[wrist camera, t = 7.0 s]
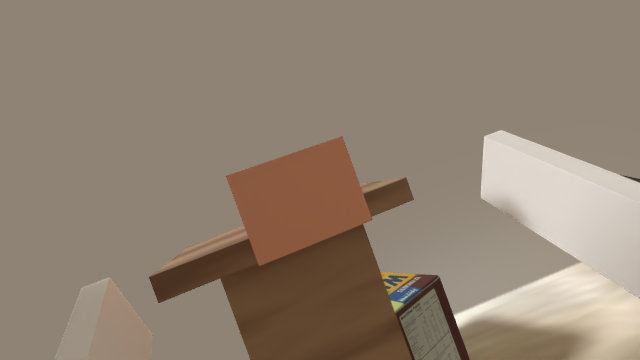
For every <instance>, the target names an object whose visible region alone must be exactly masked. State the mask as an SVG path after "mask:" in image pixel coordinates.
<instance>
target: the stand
mask: <svg viewBox="0 0 640 360" xmlns="http://www.w3.org/2000/svg"><path fill="white" fill-rule="evenodd" d="M360 187H361V189H362V192H363V195H364V198H365V200H366V203H367V206H368V209H369V212H370V214H371V217H372V216H375V215H377V214H380V213H382V212H385V211H387V210H390V209H392V208H395V207H397V206H400V205H402V204H404V203H407V202H409V201H412V200H414V198H413V196H412V193H411V190H410V187H409V184H408V182H407V179H406V178H399V179H392V180H385V181H378V182H371V183H365V184H360ZM219 278H221V281H222V284H223V287H224V290H225V292H226V295H227V298H228V300H229V303H230V306H231V308H232V311H233V314H234V317H235V319H236V322H237V324H238V327H239V330H240V333H241V335H242V338H243V341H244V344H245V346H246V349H247V351H248V354H249V357H250V360H412V358H411V355H410V353H409V350H408V347H407V344H406V342H405V339H404V336H403V333H402V331H401V328H400V325H399V322H398V320H397V317H396V314H395V311H394V308H393V306H392V303H391V300H390V297H389V295H388V292H387V289H386V286H385V284H384V281H383V278H382V275H381V273H380V270H379V267H378V265H377V261H376V259H375V256H374V254H373V250H372V248H371V246H370V242H369V240H368V237H367V234H366V231H365V228H364V226H363V224H362V225H359V226H357V227H354V228H352V229H349V230H347V231H344V232H342V233H340V234H337V235H335V236H332V237H330V238H327V239H325V240H322V241H320V242H317V243H315V244H313V245H310V246H308V247H305V248H303V249H300V250H298V251H295V252H293V253H291V254H288V255H286V256H283V257H281V258H278V259H276V260H273V261H271V262H268V263H266V264H264V265H261V266H259V265H258V262H257V259H256V256H255V254H254V251H253V248H252V245H251V243H250V240H249V237H248V235H247V232H246V229H245V226H242V227H240V228H237V229H235V230H232V231H229V232H227V233H224V234H221V235H219V236H216V237H214V238H211V239H208V240H205V241H203V242H200V243H197V244H195V245H192V246H190V247H188V248H187V249H186V250H184V251H183V252H182V253H180V254H179V255H178V256H176V257H175V258H174V259H172V260H171V261H170V262H168V263H167V264H166V265H165V266H163V267H162V268H160V269H159V270H158V271H156V272H155V273H154V274H153V275H151V276H150V277H149V279H150V281H151V284H152V287H153V289H154V292H155V295H156V297H157V300H158V303H160V302H163V301H165V300H167V299H170V298H173V297H175V296H177V295H180V294H182V293H185V292H187V291H190V290H192V289H195V288H197V287H200V286H202V285H204V284H207V283H210V282H212V281H215V280H217V279H219Z"/></svg>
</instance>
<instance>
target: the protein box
mask: <svg viewBox="0 0 640 360" xmlns="http://www.w3.org/2000/svg"><path fill="white" fill-rule="evenodd" d="M380 273H381V275H382V278H383V281H384V284H385V286H386V289H387V292H388V295H389V297H390V300H391V303H392V306H393V308H394V311H395V314H396V317H397V320H398V322H399V325H400V328H401V331H402V333H403V336H404V339H405V342H406V344H407V347H408V350H409V353H410V355H411V358H412V360H470V359H469V356H468V354H467V351H466V348H465V345H464V343H463V340H462V337H461V335H460V332H459V329H458V326H457V324H456V321H455V318H454V315H453V313H452V310H451V308H450V305H449V302H448V299H447V296H446V294H445V291H444V288H443V285H442V283H441V280H440V277H439V276H437V275H418V274H403V273H387V272H386V273H385V272H380Z"/></svg>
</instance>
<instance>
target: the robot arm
mask: <svg viewBox="0 0 640 360" xmlns="http://www.w3.org/2000/svg"><path fill="white" fill-rule="evenodd" d="M481 198H482V199H484V200H485V201H487V202H489V203H490V204H492V205H493V206H495V207H496V208H498V209H500V210H501V211H503V212H504V213H506V214H507V215H509V216H510V217H512V218H514V219H515V220H517V221H519V222H520V223H522V224H523V225H525V226H526V227H528V228H530V229H531V230H533V231H534V232H536V233H537V234H539V235H540V236H542V237H544V238H545V239H547V240H548V241H550V242H551V243H553V244H555V245H556V246H558V247H560V248H561V249H562V250H564V251H566V252H567V253H569V254H571V255H572V256H573V257H575V258H577V259H578V260H580V261H581V262H583V263H584V264H586V265H588V266H589V267H591V268H592V269H594V270H595V271H597V272H599V273H600V274H602V275H603V276H605V277H607V278H608V279H610V280H611V281H613V282H614V283H616V284H618V285H619V286H621V287H622V288H624V289H625V290H627V291H629V292H630V293H632V294H633V295H635V296H636V297H638V298H640V179H637V178H632V177H627V176H622V175H618V174H615V173H613V172H610V171H607V170H605V169H602V168H600V167H597V166H594V165H591V164H589V163H586V162H584V161H581V160H578V159H576V158H573V157H571V156H568V155H565V154H563V153H560V152H557V151H555V150H552V149H549V148H547V147H544V146H542V145H539V144H536V143H534V142H531V141H529V140H526V139H523V138H521V137H518V136H515V135H513V134H510V133H508V132H505V131H502V130H500V131H498V132H495V133H492V134H489V135H487V136H485V137H484V150H483V166H482V183H481ZM152 336H153V335H152V334H151V332H150V331H149V329H148V328H147V327H146V326H145V324H144V323H143V321H142V320H141V319H140V318H139V316H138V315H137V314H136V312H135V311H134V309H133V308H132V307H131V305H130V304H129V303H128V301H127V300H126V299H125V297H124V296H123V294H122V293H121V292H120V290H119V289H118V288H117V286H116V285H115V284H114V282H113V281H112V280H111V278H110V277H109V278H106V279H103V280H101V281H98V282H96V283H93V284H90V285H87V286H85V287H82V288H81V290H80V293H79V296H78V298H77V301H76V304H75V306H74V309H73V312H72V314H71V317H70V320H69V323H68V325H67V328H66V331H65V333H64V336H63V339H62V341H61V344H60V347H59V350H58V352H57V355H56V357H55V360H150V356H151V347H152Z"/></svg>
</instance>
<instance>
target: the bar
mask: <svg viewBox="0 0 640 360" xmlns="http://www.w3.org/2000/svg"><path fill="white" fill-rule="evenodd" d="M226 177H227V180H228V183H229V185H230V188H231V191H232V194H233V197H234V199H235V202H236V205H237V207H238V210H239V213H240V216H241V218H242V221H243V224H244V226H245V229H246V232H247V235H248V237H249V240H250V243H251V245H252V248H253V251H254V254H255V256H256V259H257V262H258V265H259V266H261V265H264V264H266V263H268V262H271V261H273V260H276V259H278V258H281V257H283V256H286V255H288V254H291V253H293V252H295V251H298V250H300V249H303V248H305V247H308V246H310V245H313V244H315V243H317V242H320V241H322V240H325V239H327V238H330V237H332V236H335V235H337V234H340V233H342V232H344V231H347V230H349V229H352V228H354V227H357V226H359V225H362V224H364V223H366V222H369V221H371V220H372V217H371V214H370V212H369V209H368V206H367V203H366V200H365V198H364V195H363V192H362V189H361V187H360V184H359V181H358V179H357V176H356V173H355V170H354V167H353V164H352V162H351V159H350V156H349V153H348V151H347V148H346V145H345V142H344V140H343V137H339V138H336V139H333V140H330V141H327V142H324V143H321V144H318V145H315V146H312V147H309V148H307V149H304V150H301V151H298V152H295V153H292V154H289V155H286V156H283V157H280V158H277V159H275V160H271V161H268V162H266V163H263V164H260V165H257V166H254V167H251V168H248V169H245V170H242V171H240V172H236V173H234V174H231V175H228V176H226Z"/></svg>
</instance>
